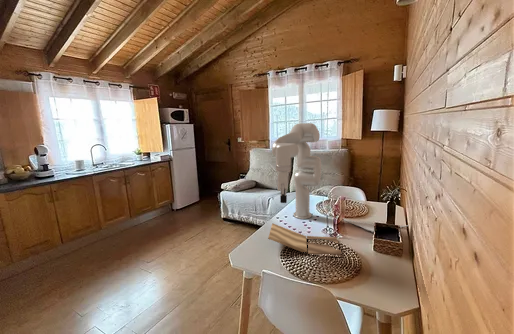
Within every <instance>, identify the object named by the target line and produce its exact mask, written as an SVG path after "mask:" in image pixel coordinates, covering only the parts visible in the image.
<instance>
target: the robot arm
mask: <svg viewBox="0 0 514 334" xmlns="http://www.w3.org/2000/svg"><path fill="white" fill-rule="evenodd" d="M320 138H321V137H320V131H319V129H318V127H317V125H315V124H314V123H311V122H306V123H305V122H303V123H295V125H293V126H292V128H291V130H290V131H289V133H287V134H284V135H282V136H280V137H278V138H277V139H276V140H275V142H274V143H273V145H272V148H271V152H272V154H273V157H274V156H275V172H277V192H279V191H280V196H279V197H280V202H279V203H281V204H286V203H287V200H288V198H287V197H288V195H287V191H288V187H289V173H290V172H291V169H292V166H291V165H292V164H291V163H292V162H291V158H296V157H297V160H296V161H297V162H296V164H297V168H298V169H299V170H302V171H296V172H295V174H294V175H293V176H294V177H293V178H294V185H295V187H294V188H295V212H293V214H292V215H293V217H294V218H296V219H300V220H308V219H310V218H312V213H311V212H310V200H311V199H310V196H311V195H310V189H309V188H308V187H319V186H320V184H321V176H322V159H321V158H320V156H316V155H311V147H310V145H309V144H308V143H317V142H319V140H320ZM304 170H306V171H304Z"/></svg>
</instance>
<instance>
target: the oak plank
mask: <svg viewBox="0 0 514 334" xmlns="http://www.w3.org/2000/svg"><path fill="white" fill-rule="evenodd" d="M267 239H269V240H271V241H273V242H275V243H279V244H280V245H282V246H286V247H288V248H291V249H294V250H296V251H298V252H301V253H303V252H306V253H308V248H307V236H306V235H304V234H301V233H299V232H296V231H294V230H292V229H288V228H286V227H283V226H280V225H278V224H275V223H272V224H271V227H270V230H269V235H268V238H267Z"/></svg>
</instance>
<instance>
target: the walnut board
mask: <svg viewBox="0 0 514 334" xmlns="http://www.w3.org/2000/svg"><path fill="white" fill-rule="evenodd" d="M307 239H325V240H329V241H333V242H336V243H338V244H339V240H338V238H337V237H333V236H317V235H307V236H306V240H307ZM306 242H307V241H306ZM307 245H308V248H307V255H308V254H330V255H331V254H334V255H336V254H337V255H340V253H342V251H341V249H340V250H338V249H337V250H336V249H335V248H334V249H333V247H330V246H328V245H322V244H321V245H320V244H314V243H313V242H312V243H310V242H309V243H308V242H307Z"/></svg>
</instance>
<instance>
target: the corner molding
mask: <svg viewBox="0 0 514 334" xmlns="http://www.w3.org/2000/svg"><path fill="white" fill-rule="evenodd" d="M343 219H344V220H343V221H344V222H347V223H349V224H352V225H355V226H357V227H360V228H363V230H366V231H368V232H371V233H375V231H374V224H375V223H368V222H361V221H355V220H351V219H346V218H343ZM399 226H400V228H399V229H401V228H402V227H403V228H406V227H409V226H410V225H408V224H407V225H399Z"/></svg>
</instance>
